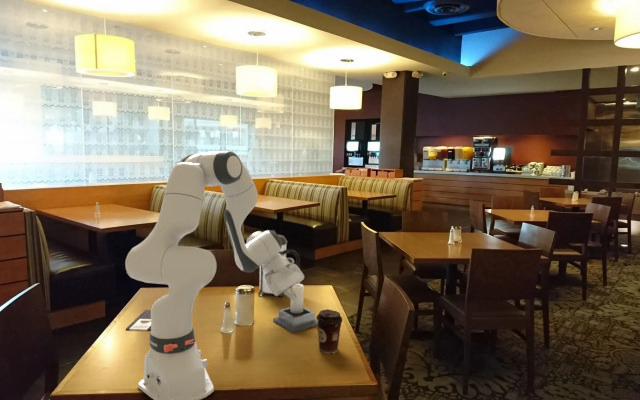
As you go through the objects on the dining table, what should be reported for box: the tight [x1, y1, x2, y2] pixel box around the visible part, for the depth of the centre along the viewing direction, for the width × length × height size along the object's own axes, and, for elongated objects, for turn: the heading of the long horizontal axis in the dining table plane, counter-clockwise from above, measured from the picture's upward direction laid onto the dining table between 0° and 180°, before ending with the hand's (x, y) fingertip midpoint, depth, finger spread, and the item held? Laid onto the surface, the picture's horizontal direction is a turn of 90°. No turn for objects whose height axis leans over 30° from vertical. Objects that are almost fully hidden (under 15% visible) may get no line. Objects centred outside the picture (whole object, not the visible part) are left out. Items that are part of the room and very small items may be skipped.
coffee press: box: [257, 229, 301, 298], centre depth 195 cm, size 17×16×30 cm
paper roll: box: [289, 283, 305, 313], centre depth 162 cm, size 5×5×10 cm
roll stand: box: [272, 306, 318, 334], centre depth 162 cm, size 13×13×5 cm
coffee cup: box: [315, 309, 343, 355], centre depth 141 cm, size 9×8×13 cm
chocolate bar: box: [125, 309, 151, 332], centre depth 161 cm, size 9×1×18 cm
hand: (298, 296), depth 161 cm, fingers closed on paper roll, 5 cm apart
